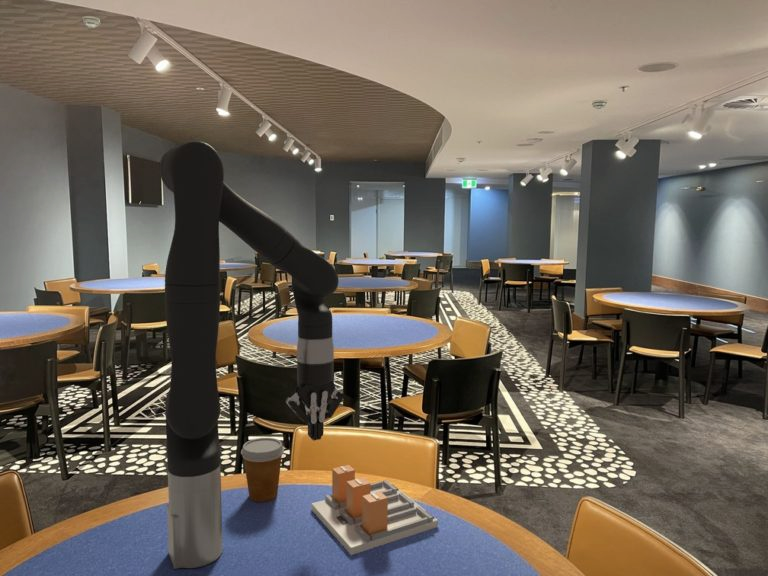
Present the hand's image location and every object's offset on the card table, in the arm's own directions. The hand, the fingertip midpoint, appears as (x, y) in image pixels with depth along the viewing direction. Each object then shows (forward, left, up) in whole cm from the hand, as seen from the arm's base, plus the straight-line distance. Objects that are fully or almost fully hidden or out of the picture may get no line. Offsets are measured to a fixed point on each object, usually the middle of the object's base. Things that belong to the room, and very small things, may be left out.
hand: (315, 438), depth 116 cm
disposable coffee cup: (-7, +14, -17) cm, 23 cm away
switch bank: (+10, -7, -17) cm, 21 cm away
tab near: (+6, -14, -15) cm, 22 cm away
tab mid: (+6, -7, -15) cm, 18 cm away
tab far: (+6, 0, -15) cm, 17 cm away
